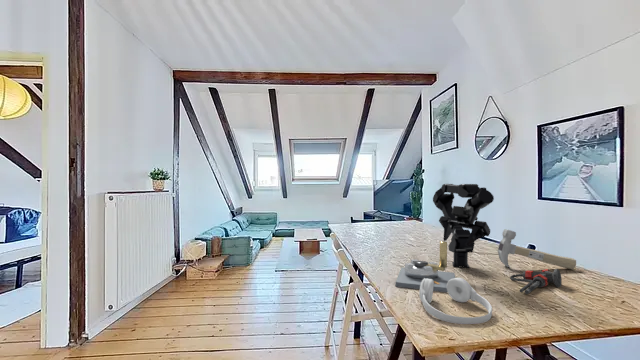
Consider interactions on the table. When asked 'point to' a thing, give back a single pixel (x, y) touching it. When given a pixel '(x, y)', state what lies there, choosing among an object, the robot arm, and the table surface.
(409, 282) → the housing plate
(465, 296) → the headphones
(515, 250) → the hammer
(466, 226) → the robot arm
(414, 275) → the brass lever assembly
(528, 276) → the valve
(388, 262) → the table surface
